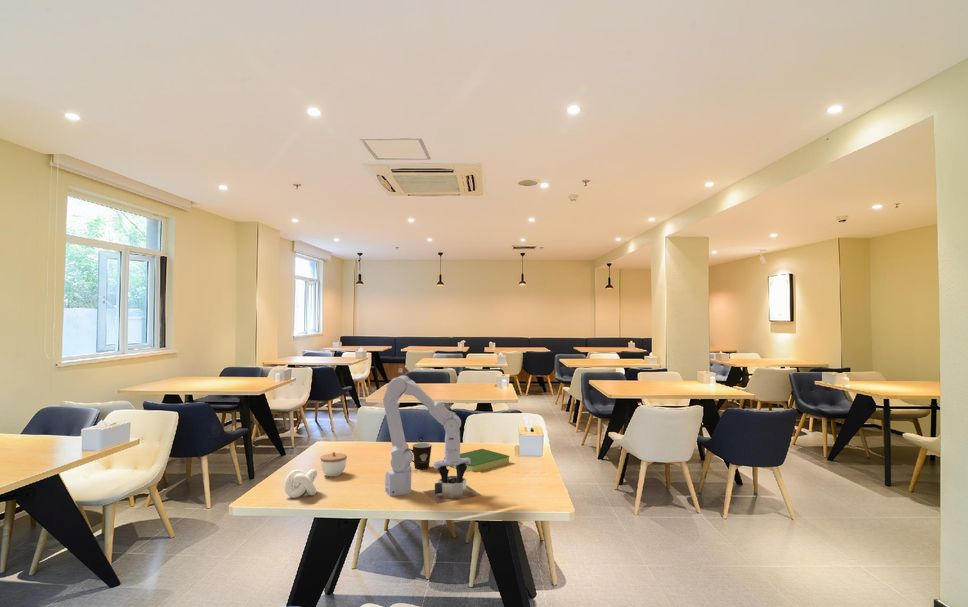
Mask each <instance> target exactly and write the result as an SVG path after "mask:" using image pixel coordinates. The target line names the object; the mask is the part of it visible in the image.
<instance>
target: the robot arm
mask: <svg viewBox="0 0 968 607" xmlns="http://www.w3.org/2000/svg"><path fill="white" fill-rule="evenodd" d="M402 395H406V396H413V397H414V398H415V399H416V400H418V401H419V402H420V403H422V405H424V406H425V407H426V408H427V409H428V410H429V412H428V413H429V415H431V416H432V417H433V418H434V419H435V420H436V421H437V422H438V423H439V424H441V425H442V426H443V429H444V431H445V436H444V457H445V460H444V459H442V460H438V461H434V462H433V468H434V469H437V470H438V471H439V474H440V478H441V477H442V481H443V483H447V478H448V476H449V471H450V470H449V469H448V467H451V466H455V465H456V468H455V469H456V476H457V483H460V482H461V481H462V478H464V475H465V473H466V469H467V466H466V464H471V459H470V458H460V454H461V431H460V430H461V429H460V428H461V427H462V419H461V418H460V417H459V415H457V414H455V413H454V412H453V411H450V410H449V409H448V408H447V407H446V404H445V403H444V402H442V403H441V402H440V401H434V400H433V399H432V398H431V397H430V396H429V395H428V394H427V393H426V392H425V391H424V390H423V389H422V388H421V387H420V386H419V385H418V384H417V383H416V382H415V381H414V380H413V379H411V378H410V377H409V376H407V375H404V374H403V375H399V376H398V377H393V378H392V379H391V380H390V381H389V382H388V384H386V389H385V393H384V396H383V399H382V400H383V407H384V413H385V416H386V417H385V418H386V422H387V427H388V432H389V436H390V440H391V451H390V452H391V455H390V456H391V460H390V465H391V468H392V469H391V470H388V471H386V473H385V479H384V482H385V483H384V493H385V494H386V495H387V496H388V497H392V496H393V497H394V496H398V495H399V496H401V495H402V496H403V495H407V494H410V493H412V466H411V463H413V462H412V460H413V461H414V456H413V453H412V451H411V450H409V449H410V447H409V444H408V443H407V442H406V441H407V440H406V438H405V437H406V436H405V432H404V427H403V421H402V417H401V414H400V407H399V404H398V402H399V400H400V399H401V397H402Z"/></svg>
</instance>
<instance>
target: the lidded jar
mask: <svg viewBox="0 0 968 607" xmlns="http://www.w3.org/2000/svg"><path fill="white" fill-rule="evenodd" d="M347 457H348V456H347V454H346V453H342V452H341V453H340V452H335V451H334V452H332V453H326V454H323V455H322V456H320V467H321V471H322V473H323V474H324V475H325V476H326V477H328V476H330V477H329V478H332V477H331V476H335V477H339V476H340V474H342V473H343V472H344V470H345V469H346V465H347Z"/></svg>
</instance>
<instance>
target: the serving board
mask: <svg viewBox="0 0 968 607" xmlns="http://www.w3.org/2000/svg"><path fill="white" fill-rule="evenodd" d="M422 493H424V494H425V495H426V496H427V497H428V498H430V499H431V500H432V501H433V502H435V503H436V504H441V503H442V504H443V503H448V502H453V501H458V500H463V499H469V498H475V497H479V496H482V494H481V493H479V492H478V491H476V490H475V489H473V488H472V487H470V486H469V485H468V484H466V494H465V495H464V496H462V497H457V498H446V497H441V496H440V495H439V494H435V489H429V490H424V491H422Z"/></svg>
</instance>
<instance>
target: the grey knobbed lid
mask: <svg viewBox="0 0 968 607" xmlns="http://www.w3.org/2000/svg"><path fill="white" fill-rule="evenodd" d="M448 483H451V484H454V483H456V477H449V478H448Z"/></svg>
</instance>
